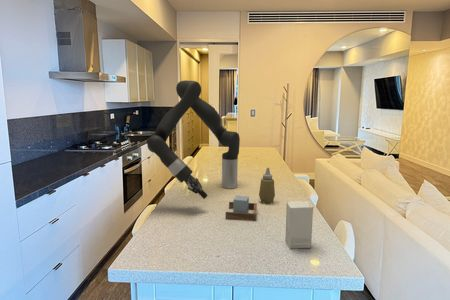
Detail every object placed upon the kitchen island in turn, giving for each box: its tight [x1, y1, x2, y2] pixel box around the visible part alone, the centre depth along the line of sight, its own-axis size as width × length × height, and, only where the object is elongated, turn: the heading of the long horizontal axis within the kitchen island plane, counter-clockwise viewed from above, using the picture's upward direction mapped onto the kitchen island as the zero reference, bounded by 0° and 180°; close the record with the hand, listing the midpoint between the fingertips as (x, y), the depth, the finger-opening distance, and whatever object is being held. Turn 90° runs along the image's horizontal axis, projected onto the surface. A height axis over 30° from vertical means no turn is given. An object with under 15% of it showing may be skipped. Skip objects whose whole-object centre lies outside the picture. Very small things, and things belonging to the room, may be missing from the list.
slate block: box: [232, 195, 250, 213], centre depth 136 cm, size 6×6×8 cm
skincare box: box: [285, 200, 314, 249], centre depth 108 cm, size 8×7×16 cm
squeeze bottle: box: [258, 167, 276, 205], centre depth 152 cm, size 8×8×18 cm
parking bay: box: [225, 201, 258, 222], centre depth 137 cm, size 14×13×3 cm
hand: (206, 197), depth 138 cm, fingers closed
